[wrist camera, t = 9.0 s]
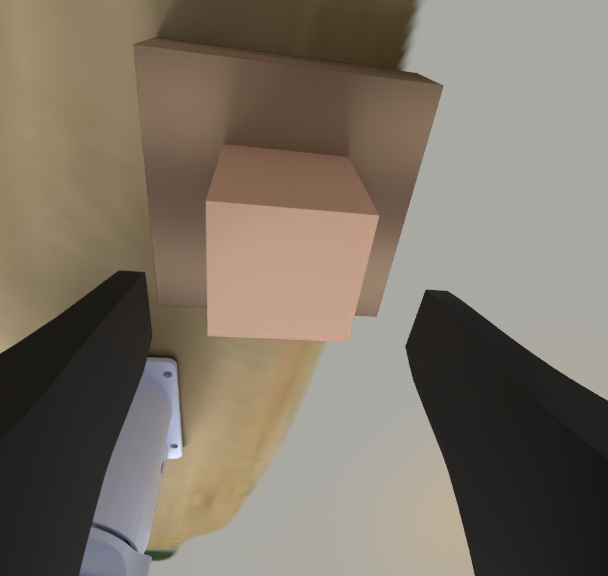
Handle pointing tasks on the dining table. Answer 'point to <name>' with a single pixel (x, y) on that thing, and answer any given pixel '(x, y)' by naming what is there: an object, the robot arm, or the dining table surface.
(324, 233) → the terracotta cube
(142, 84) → the walnut base
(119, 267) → the dining table surface
